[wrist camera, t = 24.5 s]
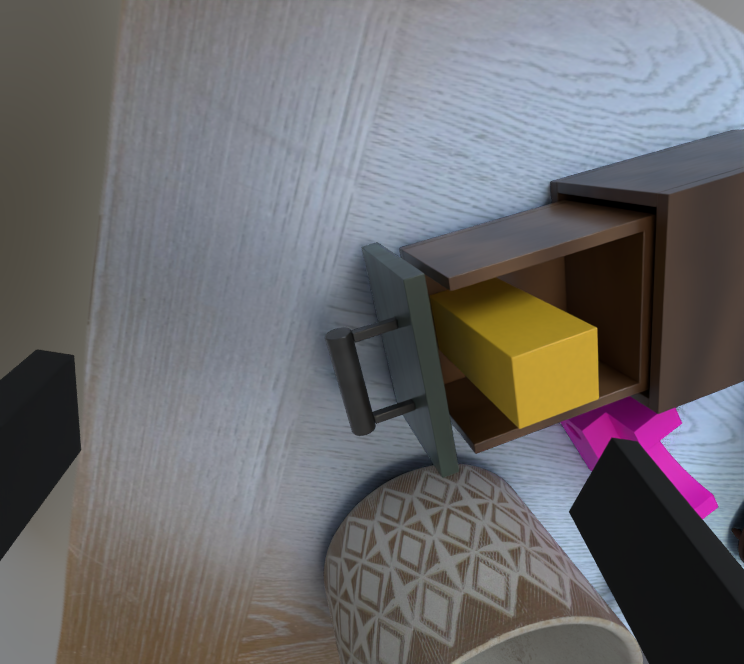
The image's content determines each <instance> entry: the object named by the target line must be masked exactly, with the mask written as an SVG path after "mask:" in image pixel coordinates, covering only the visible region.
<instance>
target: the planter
mask: <svg viewBox="0 0 744 664" xmlns="http://www.w3.org/2000/svg"><path fill="white" fill-rule="evenodd" d="M458 466H459V472H458V473H455V474H453V475H450V476H447V477H445V478H442V477H441V475H440V474H439V472H438V471H437V469H436V467H435V466H434V465H432V466H427V467H423V468H419V469H416V470H413V471H410V472H407V473H405V474H402V475H400V476H398V477H396V478H394V479H392V480H390V481H388V482H386V483H385V484H383V485H381V486H380V487H378V488H377V489H375V490H374V491H373V492H371V493H370V494H369V495H367V496H366V497H365V498H364V499H363V500H362V501H360V502H359V503H358V504H357V505H356V506H355V507H354V508H353V509H352V511H351V512H350V513H349V514H348V515H347V516H346V518H345V519H344V520H343V522H342V523H341V525H340V526H339V528H338V529H337V531H336V533H335V535H334V536H333V539H332V541H331V543H330V546H329V548H328V551H327V555H326V559H325V565H324V585H325V591H326V596H327V600H328V605H329V610H330V615H331V620H332V624H333V629H334V634H335V639H336V644H337V648H338V653H339V658H340V663H341V664H643V658H642V653H641V649H640V647H639V644H638V643H637V641H636V639H635V638H634V637H633V635H632V634H631V633H630V632H629V630H628V629H627V628H626V627H625V625H624V624H623V623H622V622H621V621H620V619H619V618H618V617H617V616H616V614H615V613H614V612H613V611H612V610H611V608H610V607H609V606H608V605H607V603H606V602H605V601H604V600H603V599H602V597H601V596H600V595H599V594H598V592H597V591H596V590H595V589H594V588H593V586H592V585H591V584H590V583H589V581H588V580H587V579H586V578H585V577H584V575H583V574H582V573H581V572H580V570H579V569H578V568H577V567H576V566H575V564H574V563H573V562H572V561H571V559H570V558H569V557H568V556H567V555H566V553H565V552H564V551H563V550H562V548H561V547H560V546H559V545H558V544H557V542H556V541H555V540H554V539H553V537H552V536H551V535H550V534H549V533H548V531H547V530H546V529H545V528H544V526H543V525H542V524H541V523H540V522H539V520H538V519H537V518H536V517H535V515H534V514H533V513H532V512H531V511H530V509H529V508H528V507H527V506H526V504H525V503H524V502H523V501H522V500H521V498H520V497H519V496H518V495H517V493H516V492H515V491H514V490H513V489H512V487H511V486H510V485H509V484H508V483H507V482H506V481H504V480H503V479H502V478H500V477H499V476H497V475H496V474H494V473H492V472H490V471H488V470H486V469H483V468H480V467H477V466H472V465H466V464H458Z"/></svg>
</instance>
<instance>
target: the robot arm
mask: <svg viewBox="0 0 744 664" xmlns="http://www.w3.org/2000/svg"><path fill="white" fill-rule="evenodd" d="M80 451H81V443H80V429H79V416H78V403H77V389H76V376H75V362H74V355H69V354H63V353H56V352H49V351H43V350H35V351H34V352H33V353H32V354H31V355H29V356H28V357H27V358H26V359H25V360H24V361H22V362H21V363H20V364H19V365H18V366H16V367H15V368H14V369H13V370H12V371H11V372H9V373H8V374H7V375H6V376H5V377H3V378H2V379H1V380H0V561H1V559H2V558H3V556H4V555H5V554H6V552H7V551H8V550H9V548H10V547H11V546H12V544H13V543H14V541H15V540H16V539H17V537H18V536H19V535H20V533H21V532H22V530H23V529H24V528H25V526H26V525H27V524H28V522H29V521H30V519H31V518H32V517H33V515H34V514H35V513H36V511H37V510H38V509H39V507H40V506H41V504H42V503H43V502H44V500H45V499H46V498H47V496H48V495H49V494H50V492H51V491H52V489H53V488H54V486H55V485H56V484H57V483H58V481H59V480H60V479H61V477H62V475H63V474H64V473H65V472H66V470H67V469H68V468H69V466H70V465H71V463H72V462H73V461H74V459H75V458H76V457H77V455H78V454H79V453H80ZM569 513H570V515H571V517H572V519H573V520H574V522H575V524H576V526H577V528H578V530H579V532H580V534H581V536H582V537H583V539H584V541H585V543H586V545H587V547H588V549H589V551H590V553H591V554H592V556H593V558H594V560H595V562H596V564H597V566H598V568H599V570H600V572H601V573H602V575H603V577H604V579H605V581H606V583H607V585H608V587H609V589H610V590H611V592H612V594H613V596H614V598H615V600H616V602H617V604H618V606H619V608H620V609H621V611H622V613H623V615H624V617H625V619H626V621H627V623H628V625H629V626H630V628H631V630H632V632H633V634H634V636H635V638H636V640H637V642H638V644H639V645H640V647H641V649H642V651H643V653H644V655H645V656H646V659H647V661H648V662H649V664H744V569H743V568H742V567H741V565H740V564H739V563H738V562H737V561H736V559H735V558H734V557H733V556H732V555H731V553H730V552H729V551H728V550H727V548H726V547H725V546H724V545H723V544H722V542H721V541H720V540H719V539H718V538H717V536H716V535H715V534H714V533H713V532H712V530H711V529H710V528H709V527H708V526H707V524H706V523H705V522H704V521H703V520H702V518H701V517H700V516H699V515H698V513H697V512H696V511H695V510H694V509H693V507H692V506H691V505H690V504H689V503H688V501H687V500H686V499H685V498H684V497H683V495H682V494H681V493H680V492H679V491H678V489H677V488H676V487H675V486H674V485H673V483H672V482H671V481H670V480H669V478H668V477H667V476H666V475H665V474H664V472H663V471H662V470H661V469H660V468H659V466H658V465H657V464H656V463H655V462H654V460H653V459H652V458H651V457H650V456H649V454H648V453H647V452H646V451H645V450H644V448H643V447H642V446H641V445H640V443H639V442H638V441H632V440H626V439H619V438H613V437H611V439H610V441H609V442H608V444H607V446H606V448H605V449H604V451H603V453H602V455H601V456H600V458H599V460H598V462H597V463H596V465H595V467H594V469H593V470H592V472H591V474H590V476H589V477H588V479H587V481H586V483H585V484H584V486H583V488H582V490H581V491H580V493H579V495H578V497H577V498H576V500H575V502H574V504H573V505H572V507H571V509H570V511H569Z"/></svg>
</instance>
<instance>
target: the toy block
mask: <svg viewBox="0 0 744 664" xmlns="http://www.w3.org/2000/svg"><path fill="white" fill-rule="evenodd" d="M560 423H561V424H562V426H563V427H564V429H565V431H566V432H567V434H568V436H569V437H570V439H571V440H572V442H573V444H574V445H575V447H576V448H577V450H578V452H579V453H580V455H581V456H582V458H583V460H584V461H585V463H586V464H587V466H588V468H589V469H590V470H591V471H592V470H593V469H594V467H595V465H596V463H597V462H598V460H599V458H600V456H601V455H602V453H603V451H604V449H605V448H606V446H607V444H608V442H609V441H610V439H611V437H613V438H619V439H626V440H632V441H638V442H639V443H640V445H641V446H642V447H643V448H644V450H645V451H646V452H647V453H648V454H649V456H650V457H651V458H652V459H653V460H654V462H655V463H656V464H657V465H658V466H659V468H660V469H661V470H662V471H663V472H664V474H665V475H666V476H667V477H668V478H669V480H670V481H671V482H672V483H673V485H674V486H675V487H676V488H677V489H678V491H679V492H680V493H681V494H682V495H683V497H684V498H685V499H686V500H687V501H688V503H689V504H690V505H691V506H692V507H693V509H694V510H695V511H696V512H697V513H698V515H699V516H700V517H701V518H702V519H704V518H705V517H706V516H708V515H709V514H710V513H711V512H713V511H714V510H715V509H717V508H718V504H717V502H716V500H715V498H714V495H713V494H712V493H710V492H709V491H708V490H707V489H705V488H704V487H703V486H702V485H701V484H700V483H698V482H697V481H696V480H695V479H694V478H693V477H692V476H691V475H690V474H689V473H688V472H686V471H685V470H684V469H683V468H682V467H681V465H680V464H679V463H678V462H677V461H676V460H675V459H674V458H673V457H672V456H671V454H670V453H669V452H668V451H667V450H666V448H665V447H664V446H663V444H662V443H661V442H660V440H661V439H663V438H664V437H665V436H667V435H668V434H669V433H670V432H672V431H673V430H674V429H676V428H677V427H678V426H679V425H681V424H682V422H681V419H680V417H679V415H678V413H677V410H676V408H673V409H670V410H668V411H665V412H663V413H660V414H657V413H655V412H654V411H652V410H651V409H649V408H648V407H646V406H644V405H643V404H641V403H640V402H638V401H637V400H635V399H633V398H632V397H630V396H629V397H626V398H623V399H621V400H618V401H615V402H613V403H610V404H607V405H605V406H602V407H599V408H597V409H594V410H591V411H589V412H586V413H583V414H581V415H578V416H575V417H573V418H570V419H567V420H565V421H562V422H560Z"/></svg>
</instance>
